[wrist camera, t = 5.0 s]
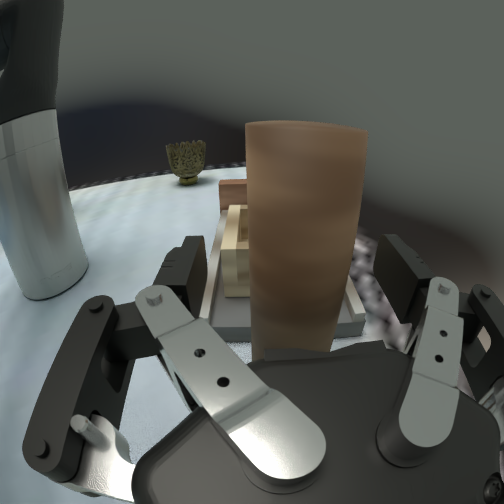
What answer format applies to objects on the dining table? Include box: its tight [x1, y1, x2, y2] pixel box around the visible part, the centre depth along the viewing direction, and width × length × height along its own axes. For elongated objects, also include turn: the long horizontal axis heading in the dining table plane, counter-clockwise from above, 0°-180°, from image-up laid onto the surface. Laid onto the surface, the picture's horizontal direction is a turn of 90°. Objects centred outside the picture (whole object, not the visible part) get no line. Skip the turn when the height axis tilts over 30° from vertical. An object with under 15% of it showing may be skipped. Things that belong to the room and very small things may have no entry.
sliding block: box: [221, 205, 250, 297], centre depth 23 cm, size 8×8×4 cm
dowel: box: [245, 121, 368, 361], centre depth 12 cm, size 4×4×14 cm
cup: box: [166, 140, 206, 185], centre depth 49 cm, size 8×7×8 cm
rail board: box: [199, 179, 366, 342], centre depth 26 cm, size 20×12×6 cm, turn 0°
